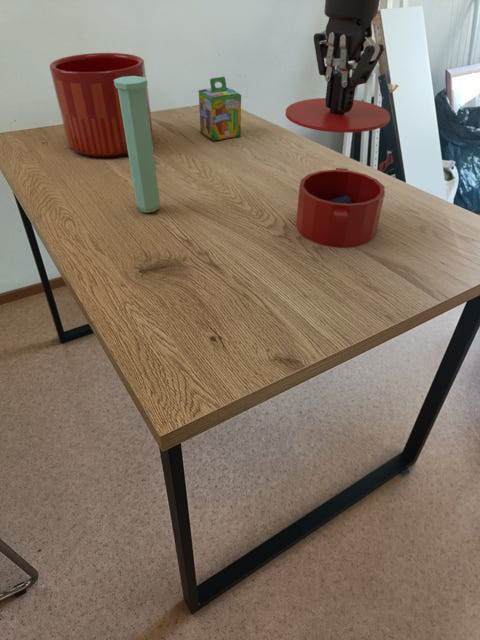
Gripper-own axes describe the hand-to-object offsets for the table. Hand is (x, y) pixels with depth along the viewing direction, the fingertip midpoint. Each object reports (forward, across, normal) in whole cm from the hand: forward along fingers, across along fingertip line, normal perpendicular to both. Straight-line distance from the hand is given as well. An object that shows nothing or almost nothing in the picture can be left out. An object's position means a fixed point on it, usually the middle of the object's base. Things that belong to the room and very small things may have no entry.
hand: (337, 108), depth 73 cm
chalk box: (+23, +60, -10) cm, 65 cm away
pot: (+23, +1, -4) cm, 23 cm away
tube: (+21, +2, -4) cm, 21 cm away
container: (+23, +26, +25) cm, 43 cm away
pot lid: (+1, 0, 0) cm, 1 cm away
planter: (+23, +68, +20) cm, 75 cm away
